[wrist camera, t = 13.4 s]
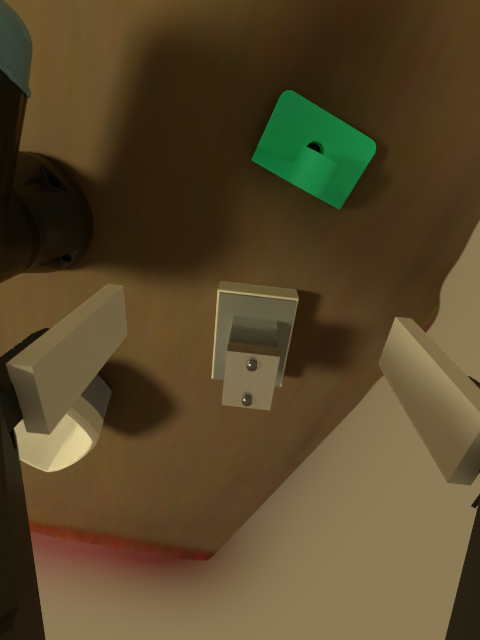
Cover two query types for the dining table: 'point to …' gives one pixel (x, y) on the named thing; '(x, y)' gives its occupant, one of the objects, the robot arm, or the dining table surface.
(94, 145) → the dining table surface
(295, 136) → the camera mount
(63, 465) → the bowl
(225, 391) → the housing
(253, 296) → the plinth
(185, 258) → the dining table surface
